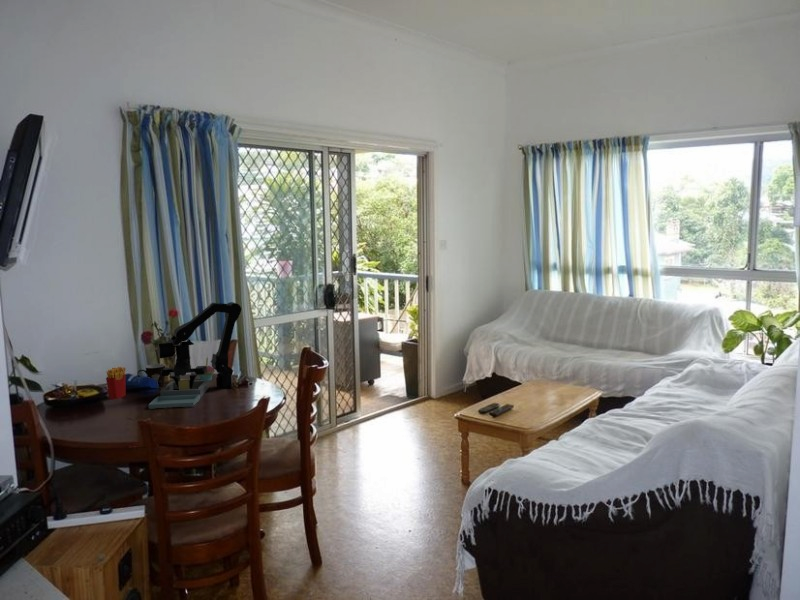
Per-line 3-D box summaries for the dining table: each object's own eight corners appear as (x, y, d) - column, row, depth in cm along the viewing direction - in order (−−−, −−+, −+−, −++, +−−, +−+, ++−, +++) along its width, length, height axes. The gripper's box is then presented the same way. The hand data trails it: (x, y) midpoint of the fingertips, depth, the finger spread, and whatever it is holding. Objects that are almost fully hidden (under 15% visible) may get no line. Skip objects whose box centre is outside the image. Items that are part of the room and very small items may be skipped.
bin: (209, 387, 291) (208, 379, 291) (200, 397, 274) (200, 389, 274) (171, 388, 290) (170, 381, 290) (160, 399, 273) (159, 391, 273)
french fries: (112, 400, 274) (110, 370, 272) (105, 399, 276) (103, 370, 274) (129, 394, 282) (127, 366, 281) (122, 393, 284) (120, 365, 282)
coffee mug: (170, 384, 298) (168, 363, 297) (161, 389, 290) (159, 368, 289) (146, 384, 300) (144, 363, 298) (137, 389, 291) (135, 368, 290)
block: (192, 391, 285) (191, 378, 284) (189, 394, 280) (188, 381, 279) (181, 392, 284) (180, 379, 284) (179, 394, 280) (178, 381, 279)
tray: (200, 399, 272) (200, 394, 272) (193, 407, 260) (193, 402, 260) (157, 401, 271) (157, 396, 270) (148, 409, 259) (148, 404, 259)
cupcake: (218, 379, 306) (217, 354, 305) (206, 383, 299) (205, 358, 297) (204, 377, 310) (203, 353, 308) (192, 381, 302) (190, 357, 301)
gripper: (155, 360, 271) (158, 395, 273) (200, 358, 273) (202, 393, 275) (163, 355, 282) (166, 389, 284) (206, 353, 284) (208, 387, 286)
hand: (185, 389), depth 282 cm, fingers closed on block, 4 cm apart
